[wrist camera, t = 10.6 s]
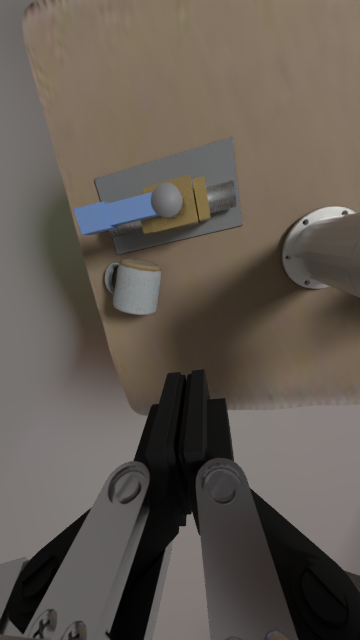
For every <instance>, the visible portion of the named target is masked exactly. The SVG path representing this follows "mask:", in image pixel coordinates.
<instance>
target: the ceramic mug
mask: <svg viewBox="0 0 360 640" xmlns="http://www.w3.org/2000/svg"><path fill="white" fill-rule="evenodd" d="M118 265H119V266H118ZM116 266H118V270H117V278H116V285H115V288H114V286H113V284H112V276H113V272H114V268H115V267H116ZM160 281H161V269H160V267H159V266H158V265H156V264H153V263H149V262H144V261H139V260H132V259H124V260H122V261H121V262H120V263H112V264H110V265H109V266H108V267H107V270H106V272H105V284H106V287H107V288H108V290H109V291H110V292H111V293H112V294H113V295H114V297H113V306H114V307H115V308H116V309H118V310H120V311H122V312H125V313H129V314H135V315H149V314H153V313H154V312H156V309H157V302H158V295H159V287H160Z"/></svg>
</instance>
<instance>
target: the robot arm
mask: <svg viewBox="0 0 360 640" xmlns="http://www.w3.org/2000/svg"><path fill="white" fill-rule="evenodd" d="M342 213H343V215H342ZM303 221H304V222H305V223H304V224H303ZM286 256H288V258H287V259H286ZM282 264H283V268H284V270H285V272H286V274H287V275H288V276H289V278H290V279H292V280H293V281H294V282H295V283H297V284H299V285H301V286H303V287H306V288H312V289H322V288H328V287H333V288H336V289H338V290H341V291H343V292H346V293H349V294H351V295H354V296H356V297H359V298H360V213H356V212H354V211H353V210H351V209H349V208H345V207H342V206H329V207H323V208H319V209H316V210H314V211H312V212H310V213H308V214H306V215H305V216H303V217H302V218H301V219H300V220H298V221H297V222H296V223H295V224H294V226H293V227H292V228H291V229H290V231H289V233H288V234H287V236H286V238H285V241H284V243H283V247H282ZM305 281H306V283H304V282H305ZM192 512H193V516H194V519H195V523H196V526H197V530H198V533H199V535H200V536H201V546H202V557H203V567H204V577H205V587H206V597H207V608H208V618H209V627H210V638H211V640H360V576H359V575H356V574H353V573H350V572H347V571H344V570H342V569H341V567H339V565H338V564H337V563H336V562H334V561H333V560H332V559H331V558H330V557H329V556H327V555H326V554H325V553H324V552H323V551H322V550H321V549H319V548H318V547H317V546H316V545H315V544H314V543H313V542H311V541H310V540H309V539H308V538H307V537H306V536H305V535H303V534H302V533H301V532H300V531H299V530H298V529H297V528H295V527H294V526H293V525H292V524H291V523H289V522H288V521H287V520H286V519H285V518H284V517H283V516H282V515H280V514H279V513H278V512H277V511H276V510H275V509H274V508H272V507H271V506H270V505H269V504H268V503H267V502H265V501H264V500H263V499H262V498H261V497H260V496H259V495H257V494H256V493H255V492H254V491H253V490H252V489H251V488H250V487H249V484H248V481H247V478H246V476H245V474H244V472H243V470H242V469H241V467H240V466H238V464H237V463H235V462H234V458H233V449H232V441H231V434H230V426H229V419H228V412H227V406H226V400H225V398H223V399H212V400H210V396H209V390H208V385H207V380H206V375H205V370H195V371H192V374H188V376H187V381H186V377H185V375H181V373H180V372H176V373H168V374H167V377H166V381H165V384H164V388H163V392H162V395H161V399H160V402H159V404H153V405H152V406H151V408H150V412H149V415H148V418H147V421H146V424H145V427H144V430H143V433H142V436H141V440H140V443H139V446H138V449H137V452H136V455H135V458H134V461H131V462H127V463H124V464H122V465H121V466H119V467H118V468H116V469H115V470H114V471H113V472H112V473H111V474H110V476H109V477H108V479H107V481H106V482H105V484H104V486H103V488H102V490H101V492H100V493H99V495H98V497H97V499H96V501H95V503H94V505H93V506H92V508H90V509H89V510H88V511H87V512H86V513H84V514H83V515H82V516H81V517H80V518H78V519H77V520H76V521H75V522H73V523H72V524H71V525H70V526H69V527H67V528H66V529H65V530H64V531H63V532H62V533H60V534H59V535H58V536H57V537H56V538H54V539H53V540H52V541H51V542H49V543H48V544H47V545H46V546H45V547H44V548H42V549H41V550H40V551H39V552H38V553H37V554H36V555H35V556H34V557H33V558H32V559H31V560H28V559H27V558H26V557H23V558H20V559H16V560H13V561H10V562H6V563H3V564H0V640H152V637H153V633H154V628H155V623H156V619H157V614H158V610H159V605H160V601H161V596H162V592H163V587H164V582H165V578H166V573H167V569H168V564H169V560H170V554H171V550H172V540H173V539H174V538H175V537H176V535H177V534H178V533H179V526H186V516H187V514H191V513H192Z"/></svg>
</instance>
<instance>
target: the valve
mask: <svg viewBox="0 0 360 640" xmlns="http://www.w3.org/2000/svg"><path fill="white" fill-rule="evenodd" d="M162 183H171V184H173V185H175V186H176V187H177V188H178V190H179V191H180V193H181V195H182V198H183V207H182V210H181V212H180V213H179V214H178V215H177V216H176V217H174V218H170V219H168V218H164V217H162V216H157V217H153V218H148V219H144V220H140V221H136V222H132V223H127V224H123V225H119V226H117V228H118V229H113V230H109V231H108V232H109V234H110V235H111V236H112V237H113V238H115V237H119V236H123V235H127V234H131V233H135V232H139V231H143V232H144V234H156V233H165V232H169V231H173V230H177V229H181V228H185V227H189V226H194V225H198V224H199V221H198V216H199V220H200V222H204V221H208V220H210V218H211V216H210V213H214V212H218V211H222V210H226V209H230V208H234V207H236V192H235V186H234V182H233V180H231V181H227V182H224V183H220V184H216V185H213V186H209V187H206V184H205V178H204V176H201V177H198V178H194V179H193V185H194V191H193V187H192V182H191V177H190V175H186V176H183V177H179V178H176V179H172V180H169V181H165V182H162ZM159 184H161V183H158V184H155V185H151V186H148V187H144V188H143V191H144V193H141V194H137V195H134V197H135V196H139V195H143V194H147V193H150V192H153V191H154V189H155V188H156V187H157V186H158V185H159Z"/></svg>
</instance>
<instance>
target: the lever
mask: <svg viewBox="0 0 360 640" xmlns="http://www.w3.org/2000/svg"><path fill="white" fill-rule="evenodd" d="M182 207H183V198H182V195H181V193H180V191H179V190H178V188H177V187H176V186H175V185H173V184H171V183H161V184H159V185H158V186H157V187H156V188H155V189H154V191H153V192H150V193H147V194H143V195H139V196H135V197H131V198H127V199H123V200H119V201H116V202H112V203H107V202H104V201H103V202H99V203H95V204H91V205H87V206H84V207H80V208H76V209H74V212H75V215H76V218H77V221H78V224H79V227H80V230H81V233H82V235H92V234H96V233H101V232H105V231H109V230H113V229H118V228H117V226H119V225H123V224H127V223H132V222H136V221H140V220H144V219H148V218H153V217H157V216H162V217H164V218H168V219H170V218H174V217H176V216H177V215H178V214H179V213H180V212H181V210H182Z"/></svg>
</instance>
